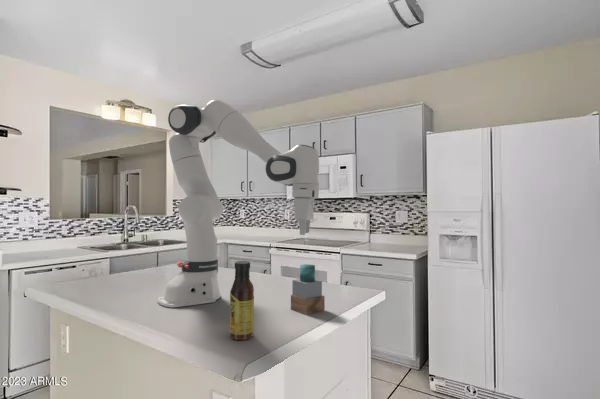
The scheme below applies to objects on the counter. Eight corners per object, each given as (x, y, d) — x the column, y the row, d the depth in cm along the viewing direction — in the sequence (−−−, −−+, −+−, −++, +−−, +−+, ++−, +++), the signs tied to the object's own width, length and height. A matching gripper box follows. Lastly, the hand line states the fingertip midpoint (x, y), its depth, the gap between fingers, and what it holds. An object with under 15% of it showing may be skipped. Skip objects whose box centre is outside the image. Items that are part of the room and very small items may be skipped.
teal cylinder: (306, 282, 116) (306, 267, 116) (296, 280, 119) (296, 265, 119) (318, 280, 119) (318, 265, 119) (307, 278, 123) (307, 263, 123)
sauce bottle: (231, 333, 97) (231, 259, 97) (254, 332, 97) (254, 259, 98) (228, 342, 90) (228, 263, 91) (253, 341, 91) (253, 263, 91)
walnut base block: (306, 315, 113) (306, 299, 113) (290, 310, 119) (290, 295, 120) (324, 311, 118) (324, 295, 119) (308, 305, 125) (308, 291, 125)
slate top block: (305, 299, 114) (305, 283, 114) (292, 294, 120) (292, 280, 120) (321, 295, 119) (321, 280, 119) (308, 291, 124) (308, 277, 124)
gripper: (300, 193, 131) (299, 231, 131) (291, 191, 111) (290, 235, 111) (317, 194, 131) (316, 231, 130) (311, 191, 110) (310, 236, 110)
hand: (304, 233), depth 120 cm, fingers open, 8 cm apart
